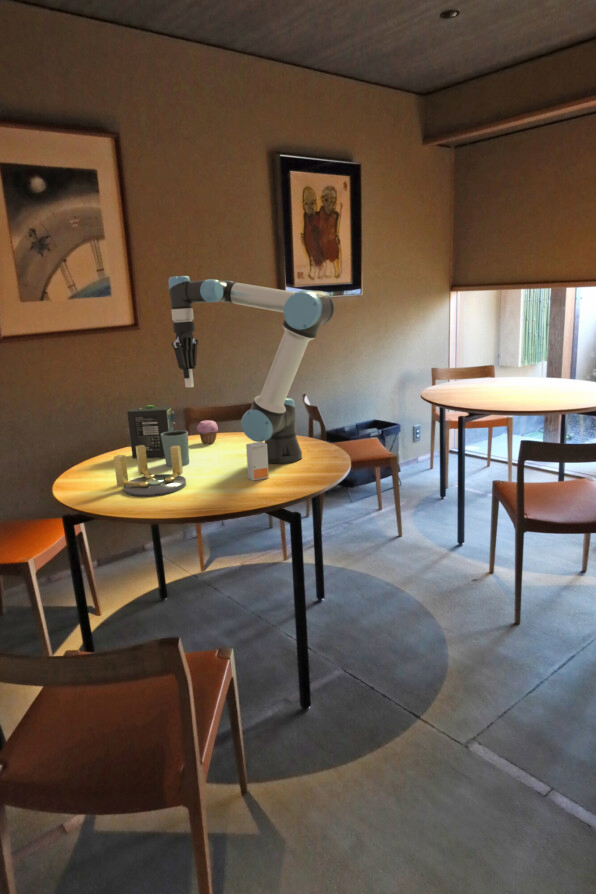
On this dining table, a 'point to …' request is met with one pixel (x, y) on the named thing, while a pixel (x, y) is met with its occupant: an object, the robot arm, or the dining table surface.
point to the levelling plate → (156, 486)
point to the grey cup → (175, 440)
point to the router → (149, 429)
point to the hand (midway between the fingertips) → (189, 387)
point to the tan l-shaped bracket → (175, 463)
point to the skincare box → (257, 461)
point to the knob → (143, 462)
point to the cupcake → (207, 431)
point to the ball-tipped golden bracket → (124, 473)
